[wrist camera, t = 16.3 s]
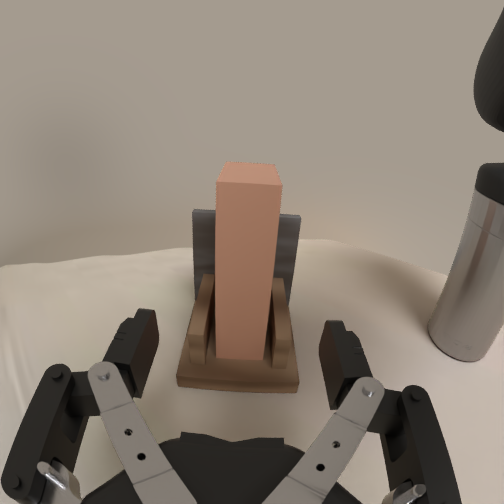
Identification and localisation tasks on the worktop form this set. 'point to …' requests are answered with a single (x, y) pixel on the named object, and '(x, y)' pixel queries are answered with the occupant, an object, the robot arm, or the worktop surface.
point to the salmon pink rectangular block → (245, 256)
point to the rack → (204, 326)
